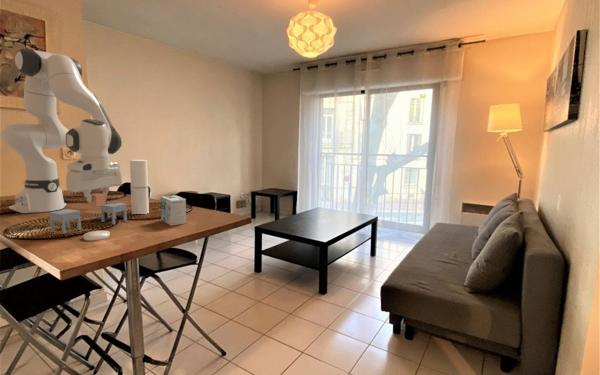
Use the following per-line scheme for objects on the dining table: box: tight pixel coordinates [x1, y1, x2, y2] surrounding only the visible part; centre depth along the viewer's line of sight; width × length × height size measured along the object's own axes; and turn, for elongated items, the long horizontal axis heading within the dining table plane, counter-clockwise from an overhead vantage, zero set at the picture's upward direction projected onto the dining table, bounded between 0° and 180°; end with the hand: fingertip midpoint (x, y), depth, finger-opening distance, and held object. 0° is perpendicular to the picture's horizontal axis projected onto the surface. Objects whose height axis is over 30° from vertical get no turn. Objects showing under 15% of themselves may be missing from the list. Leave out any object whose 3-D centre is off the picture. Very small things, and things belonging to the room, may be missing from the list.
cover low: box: [49, 208, 82, 234], centre depth 116 cm, size 6×6×8 cm
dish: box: [82, 230, 111, 242], centre depth 112 cm, size 8×8×1 cm
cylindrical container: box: [129, 159, 150, 215], centre depth 145 cm, size 7×7×25 cm
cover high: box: [100, 201, 128, 225], centre depth 130 cm, size 6×6×8 cm
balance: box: [83, 183, 123, 221], centre depth 134 cm, size 6×17×16 cm, turn 162°
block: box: [87, 192, 106, 207], centre depth 119 cm, size 4×4×4 cm
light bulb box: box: [160, 194, 187, 226], centre depth 134 cm, size 11×7×11 cm, turn 45°
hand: (97, 200), depth 119 cm, fingers closed on block, 4 cm apart
